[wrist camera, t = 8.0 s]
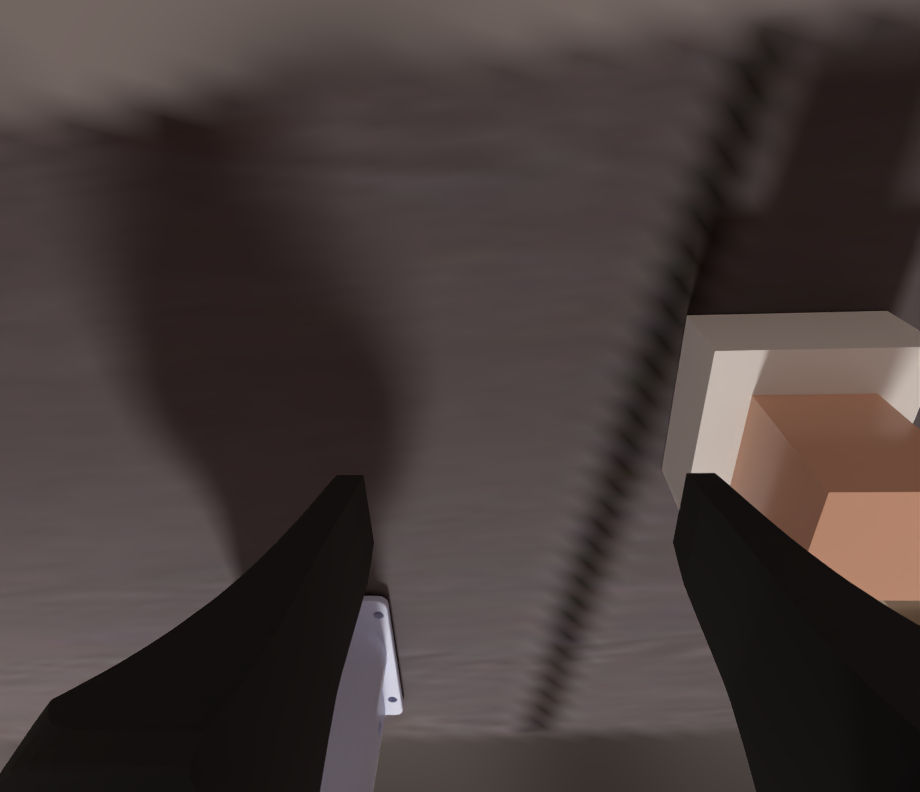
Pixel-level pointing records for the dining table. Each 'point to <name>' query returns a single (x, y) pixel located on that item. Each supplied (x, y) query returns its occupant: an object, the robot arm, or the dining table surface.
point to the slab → (778, 376)
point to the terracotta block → (839, 484)
